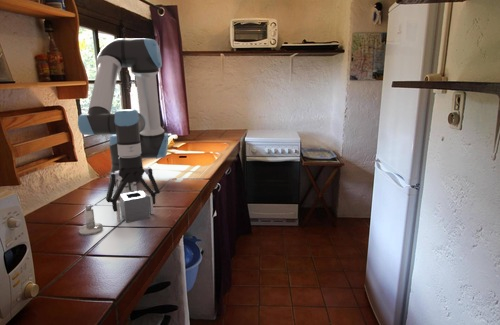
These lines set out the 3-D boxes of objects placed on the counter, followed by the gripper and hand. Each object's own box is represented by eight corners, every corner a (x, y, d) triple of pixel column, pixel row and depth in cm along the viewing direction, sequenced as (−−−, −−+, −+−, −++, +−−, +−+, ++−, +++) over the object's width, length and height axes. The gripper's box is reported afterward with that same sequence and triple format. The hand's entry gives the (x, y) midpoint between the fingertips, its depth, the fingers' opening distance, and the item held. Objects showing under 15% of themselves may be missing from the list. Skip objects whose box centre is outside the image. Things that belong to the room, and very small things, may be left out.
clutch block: (121, 215, 122) (119, 194, 120) (144, 210, 126) (142, 190, 125) (126, 222, 116) (124, 200, 114) (149, 218, 120) (148, 196, 118)
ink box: (116, 198, 140) (113, 170, 137) (127, 195, 143) (125, 168, 140) (127, 203, 134) (124, 174, 131) (138, 200, 138) (135, 172, 135)
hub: (78, 228, 111) (74, 204, 109) (101, 224, 115) (98, 200, 113) (80, 237, 106) (77, 211, 103) (104, 231, 109) (101, 207, 107)
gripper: (94, 162, 107) (102, 227, 112) (166, 153, 118) (170, 212, 124) (91, 157, 113) (99, 219, 118) (160, 150, 125) (164, 206, 130)
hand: (135, 216), depth 121 cm, fingers open, 11 cm apart
